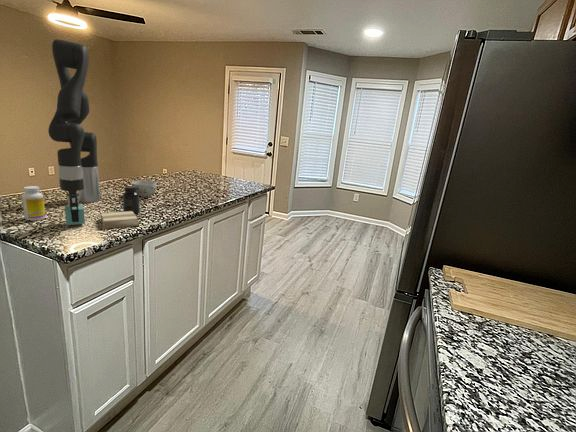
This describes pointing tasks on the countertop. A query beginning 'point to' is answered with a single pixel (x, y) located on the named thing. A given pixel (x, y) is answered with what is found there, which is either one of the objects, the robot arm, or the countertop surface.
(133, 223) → the birch pedestal
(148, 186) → the teacup
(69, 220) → the teal cube
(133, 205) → the supplement bottle
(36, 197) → the supplement bottle
